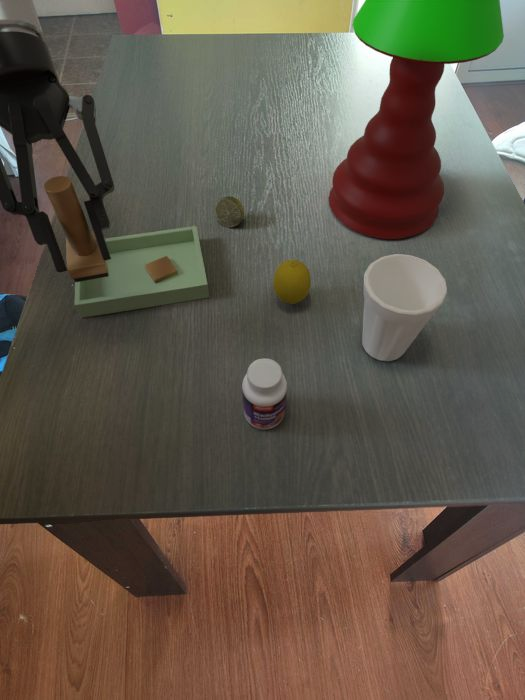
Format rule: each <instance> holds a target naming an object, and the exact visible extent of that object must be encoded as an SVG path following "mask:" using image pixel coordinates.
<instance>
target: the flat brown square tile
mask: <svg viewBox="0 0 525 700" xmlns="http://www.w3.org/2000/svg"><path fill="white" fill-rule="evenodd" d="M144 266H145V269H146V270H147V272H148V273H149V275H150V276H151V278H152V279H153V281H154V282H155V283H158V282H160V281H162V280H165V279H167V278H169V277H172V276H174V275H176V274H178V271H177V269H176V268H175V267H174V265H173V264H172V262H171V261H170V260H169V258H168V257H167V256H165V257H163V258H160V259H158V260H155V261H153V262H150V263H148V264H145V265H144Z"/></svg>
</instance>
